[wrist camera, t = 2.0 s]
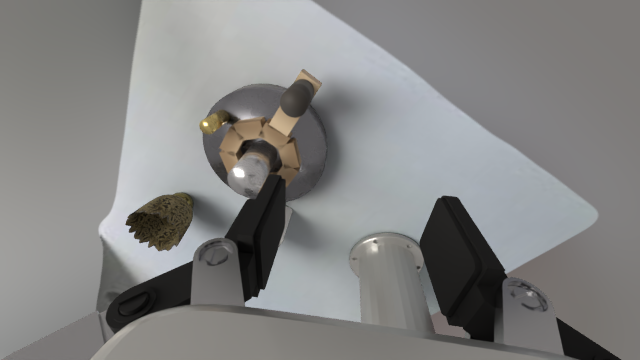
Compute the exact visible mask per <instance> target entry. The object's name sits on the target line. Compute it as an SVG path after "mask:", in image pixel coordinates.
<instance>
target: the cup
mask: <svg viewBox="0 0 640 360" xmlns="http://www.w3.org/2000/svg"><path fill="white" fill-rule="evenodd" d="M192 208H193V200H192V199H191V197H190V196H188V195H187V194H185V193H175V194H173V195H163V196H160V197H157V198H155V199H153V200H152V201H150V202H148V203H147V204H145V205H144V206H142V207H141V208H139V209H138V210H136V211H135V212H134V213H132V214H130V215H129V216H128V219H127V221H126V225H128V226H131V228H130V229H129V233H132V232H135V230H136V232H135V234H134V238H135V239H139V240H140V241H139V243H143V242H148V241H149V244H148V248H149V247H152V246H153V245H154V246H155V247H156V249H157V250H158V251H162V250H165V249H166V250H167V251H169V250H170V249H171V248H172V247H173V246H174V245H176V247H177V246H178V244H179V242H180V241H181V239H182V237H183V236H184V234H185V232H186V231H187V229H188V227H189V226H190V223H191V221H192V218H193V211H192Z"/></svg>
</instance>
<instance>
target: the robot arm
mask: <svg viewBox="0 0 640 360" xmlns="http://www.w3.org/2000/svg"><path fill="white" fill-rule="evenodd" d="M285 204H286V179H282V176H281V175H275V174H269V175H268V177H267V179H266V181H265V183H264V184H263V186H262V188H261V190H260V192H259V193H258V195H257V197H256V199H248V200H247V201H246V202H245V204H244V206H243V207H242V209H241V211H240V212H239V214H238V216H237V217H236V219H235V221H234V222H233V224H232V226H231V228H230V229H229V231H228V233H227V234H226V236H225V238H215V239H211V240H208V241H207V242H205V243H203V244H202V245H200V246H199V247H198V248H197V250H196V251H195V253H194V257H193V261H191V262H189V263H186V264H184V265H182V266H180V267H177V268H175V269H173V270H171V271H168V272H166V273H164V274H161V275H159V276H157V277H155V278H152V279H150V280H148V281H146V282H143V283H141V284H139V285H137V286H134V287H132V288H130V289H128V290H126V291H125V292H123V293H122V294H120V295H119V296H118V297H117V298H116V299H115V300H114V301H113V302H112V303H111V304H110V306H109V308H108V310H106V311H104V312H102V313H100V314H99V312H98V311H96V312H94V313H92V314H90V315H88V316H86V317H84V318H82V319H80V320H78V321H76V322H74V323H72V324H70V325H68V326H66V327H64V328H62V329H60V330H58V331H56V332H54V333H52V334H50V335H48V336H46V337H44V338H42V339H40V340H38V341H36V342H34V343H32V344H30V345H28V346H26V347H24V348H22V349H20V350H18V351H16V352H14V353H12V354H10V355H9V356H7V357H5V358H4V359H2V360H621V359H619V358H618V357H616V356H615V355H613V354H612V353H610V352H609V351H607V350H606V349H604V348H603V347H601V346H600V345H598V344H596V343H595V342H593V341H592V340H590V339H589V338H587V337H586V336H584V335H583V334H581V333H580V332H578V331H576V330H575V329H573V328H572V327H570V326H569V325H567V324H566V323H564V322H563V321H561V320H560V319H558V318H557V317H556V316H555V312H554V307H553V305H552V303H551V301H550V300H549V298H548V297H547V296H546V295H545V294H544V293H543V292H542V291H541V290H540V289H539V288H537V287H536V286H534V285H532V284H531V283H529V282H527V281H525V280H522V279H519V278H513V277H510V278H508V277H507V276H506V274H505V272H504V271H505V269H504V268H503V266H502V264H501V263H500V261H499V260H498V258H497V257H496V255H495V254H494V252H493V251H492V249H491V248H490V246H489V245H488V243H487V241H486V240H485V238H484V237H483V235H482V234H481V232H480V231H479V229H478V228H477V226H476V225H475V223H474V222H473V220H472V218H471V217H470V215H469V214H468V212H467V211H466V209H465V208H464V206H463V205H462V203H461V202H460V200H459V199H458V198H457V197H452V196H442V197H441V198H438V199H437V201H436V203H435V206H434V208H433V210H432V213H431V215H430V218H429V220H428V222H427V225H426V227H425V229H424V232H423V234H422V237H421V239H420V247H419V246H418V244H417V243H416V242H414V241H413V240H412V239H410V238H408V237H406V236H403V235H400V234H395V233H379V234H374V235H371V236H368V237H365V238H364V239H362V240H360V241H359V242H358V243H357V244H355V246H354V247H353V248H352V250H351V253H350V266H351V269H352V271H353V272H354V273H355V274H356V276H358V277H359V284H360V308H361V323H360V322H353V321H346V320H339V319H332V318H325V317H318V316H311V315H304V314H297V313H290V312H282V311H275V310H267V309H259V308H251V307H245V302H246V301H248V300H249V299H251V298H252V297H258V294H259V291H260V289H263V290H264V289H265V287H266V284H267V281H268V278H269V275H270V271H271V268H272V265H273V262H274V259H275V256H276V253H277V250H278V247H279V244H280V240H281V237H282V234H283V231H284V228H285ZM424 261H425V264H426V267H427V270H428V274H429V277H430V280H431V283H432V286H433V289H434V292H435V295H436V298H437V301H438V304H439V307H440V310H441V313H442V314H443V315H444V316H446V318H447V321H448V324H449V325H452V326H459V327H463V329H464V330H465V331H466V333H465V338H461V337H454V336H448V335H440V334H435V330H434V326H433V323H432V319H431V316H430V312H429V309H428V305H427V302H426V298H425V295H424V291H423V288H422V284H421V281H420V278H419V274H418V273H419V272H420V271H421V269H422V267H423V264H424Z"/></svg>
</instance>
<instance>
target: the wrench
mask: <svg viewBox="0 0 640 360" xmlns="http://www.w3.org/2000/svg"><path fill="white" fill-rule="evenodd" d="M321 85H322V83H321V82H320V81H318V80H317V79H316V78H315V77H313V76H312V75H311V74H309V73H308V72H307V71H305V70H304V69H303V70H302V71H301V72H300V74H299V75H298V77H297V79H296V80H295V82H294V83H293V84H292V85H291V86H290V87H289V88H288V89H287V90H286V91H285V92H284V93H283V94H282V96H281V98H280V107H279V108H278V110H277V112H276V113H275V115H274V117H273V118H272V119H271V118H269V119H268V120H267V121H265V118H264V116H263V117H257V118H250V119H244V120H239V121H237V122H236V123H234V124H233V125H232V126H231V127H230V128H229V129H228V131H227V133H226V135H225V137H224V139H223V141H222V143H221V145H220V147H219V148H220V149H222V151H221V152H219V154H220V156H221V158H222V161H223V163H224V165H225V168H226V170H227V173H229V172H230V170H231V169H232V168H233V167H234V166H235V164H236V163H237V162H238V161H239V160H240V159H241V157H242V156H243V155H242V152H241V147H242V145H243V143H244V142H245V140H250V139H257V138H262V139H264V140H265V141H267V142H268V143H270V144H271V145H273V146H275V147H276V148H278V150H279V154H280V157H281V161H282V166H281V167H280V169H279V170H278V171H277V172H272V173H269V174H275V175H281V176H282V179H286V187H287V186H288V185H289V184H290V182H291V181H292V180H293V178H294V177H295V176H296V174H297V173H298V172H299V169H300V164H301V157H300V153H299V149H298V144H297V140H296V138H292V139H290V138H291V136H292V134H293V133H291V132H290V131H291V130H292V128H293V127H294V125H295V124H296V122H297V121H298V119H299V118H300V116H302V115H303V114H304V113H305V112H306V110H307V108H308V106H309V104H310V102H311V100H312V99H313V97H314V95H315V94H316V92H317V91H318V89H319V88H320V86H321ZM269 174H268V175H269ZM267 177H268V176H267ZM266 179H267V178H266ZM265 181H266V180H265ZM265 181H264V183H265ZM264 183H263V184H264ZM262 186H263V185H262ZM261 188H262V187H261ZM260 190H261V189H260ZM260 190H259V192H260Z"/></svg>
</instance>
